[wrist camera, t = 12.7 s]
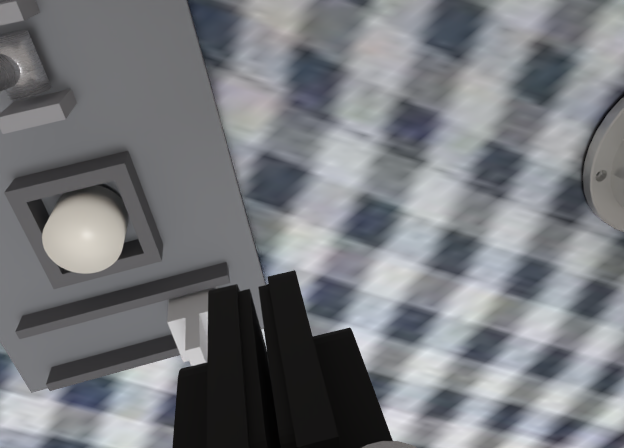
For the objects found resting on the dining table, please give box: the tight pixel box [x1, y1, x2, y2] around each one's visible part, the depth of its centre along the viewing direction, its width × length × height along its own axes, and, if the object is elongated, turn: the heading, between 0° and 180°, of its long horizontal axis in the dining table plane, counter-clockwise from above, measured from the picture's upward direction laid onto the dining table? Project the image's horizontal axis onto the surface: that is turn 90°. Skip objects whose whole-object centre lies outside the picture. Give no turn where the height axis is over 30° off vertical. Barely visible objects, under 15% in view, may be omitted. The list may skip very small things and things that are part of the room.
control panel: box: [0, 0, 266, 393], centre depth 31 cm, size 17×25×5 cm
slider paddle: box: [167, 287, 218, 366], centre depth 33 cm, size 3×3×6 cm
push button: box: [42, 185, 129, 274], centre depth 30 cm, size 4×4×3 cm
